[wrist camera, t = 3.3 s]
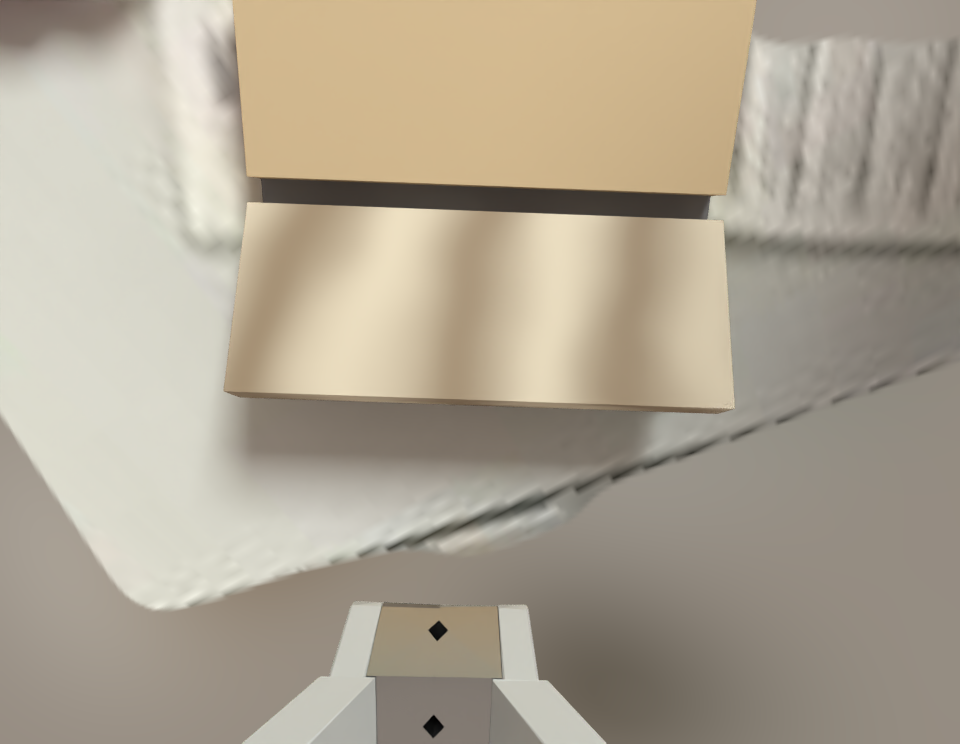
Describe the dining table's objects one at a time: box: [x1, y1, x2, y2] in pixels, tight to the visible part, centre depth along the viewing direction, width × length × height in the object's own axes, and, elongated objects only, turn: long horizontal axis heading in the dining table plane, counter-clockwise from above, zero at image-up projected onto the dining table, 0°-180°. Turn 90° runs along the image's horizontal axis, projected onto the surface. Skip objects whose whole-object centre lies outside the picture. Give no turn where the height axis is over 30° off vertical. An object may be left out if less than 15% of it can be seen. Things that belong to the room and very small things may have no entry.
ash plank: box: [224, 202, 735, 414], centre depth 22 cm, size 19×8×2 cm, turn 88°
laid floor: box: [233, 0, 757, 220], centre depth 23 cm, size 19×17×2 cm
